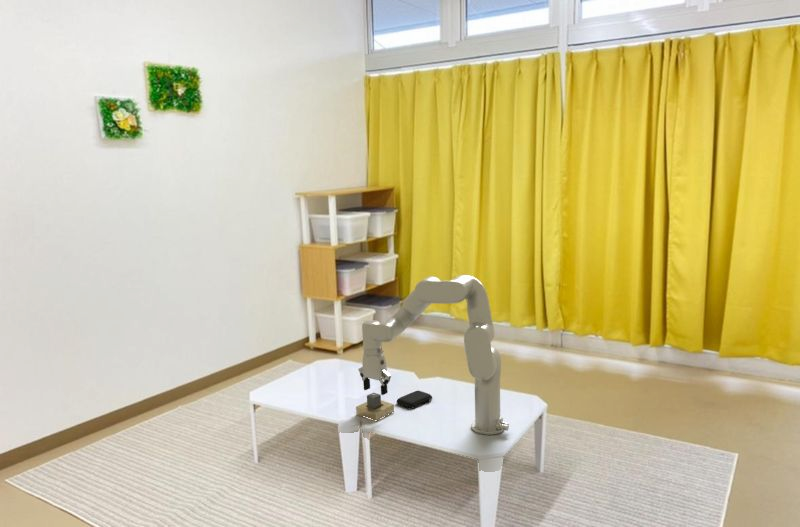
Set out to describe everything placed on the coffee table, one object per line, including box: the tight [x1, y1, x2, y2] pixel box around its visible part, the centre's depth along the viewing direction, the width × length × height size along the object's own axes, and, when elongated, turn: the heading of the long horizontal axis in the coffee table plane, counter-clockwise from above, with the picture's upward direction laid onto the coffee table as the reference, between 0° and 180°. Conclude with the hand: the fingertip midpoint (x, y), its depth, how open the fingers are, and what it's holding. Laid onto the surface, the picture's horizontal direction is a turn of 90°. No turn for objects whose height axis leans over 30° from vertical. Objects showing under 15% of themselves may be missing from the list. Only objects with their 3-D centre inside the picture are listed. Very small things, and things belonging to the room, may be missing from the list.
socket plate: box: [355, 400, 395, 421], centre depth 228 cm, size 11×11×4 cm
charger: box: [366, 392, 382, 409], centre depth 227 cm, size 4×4×8 cm
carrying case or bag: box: [396, 390, 433, 410], centre depth 239 cm, size 11×3×15 cm
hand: (375, 391), depth 227 cm, fingers open, 9 cm apart
